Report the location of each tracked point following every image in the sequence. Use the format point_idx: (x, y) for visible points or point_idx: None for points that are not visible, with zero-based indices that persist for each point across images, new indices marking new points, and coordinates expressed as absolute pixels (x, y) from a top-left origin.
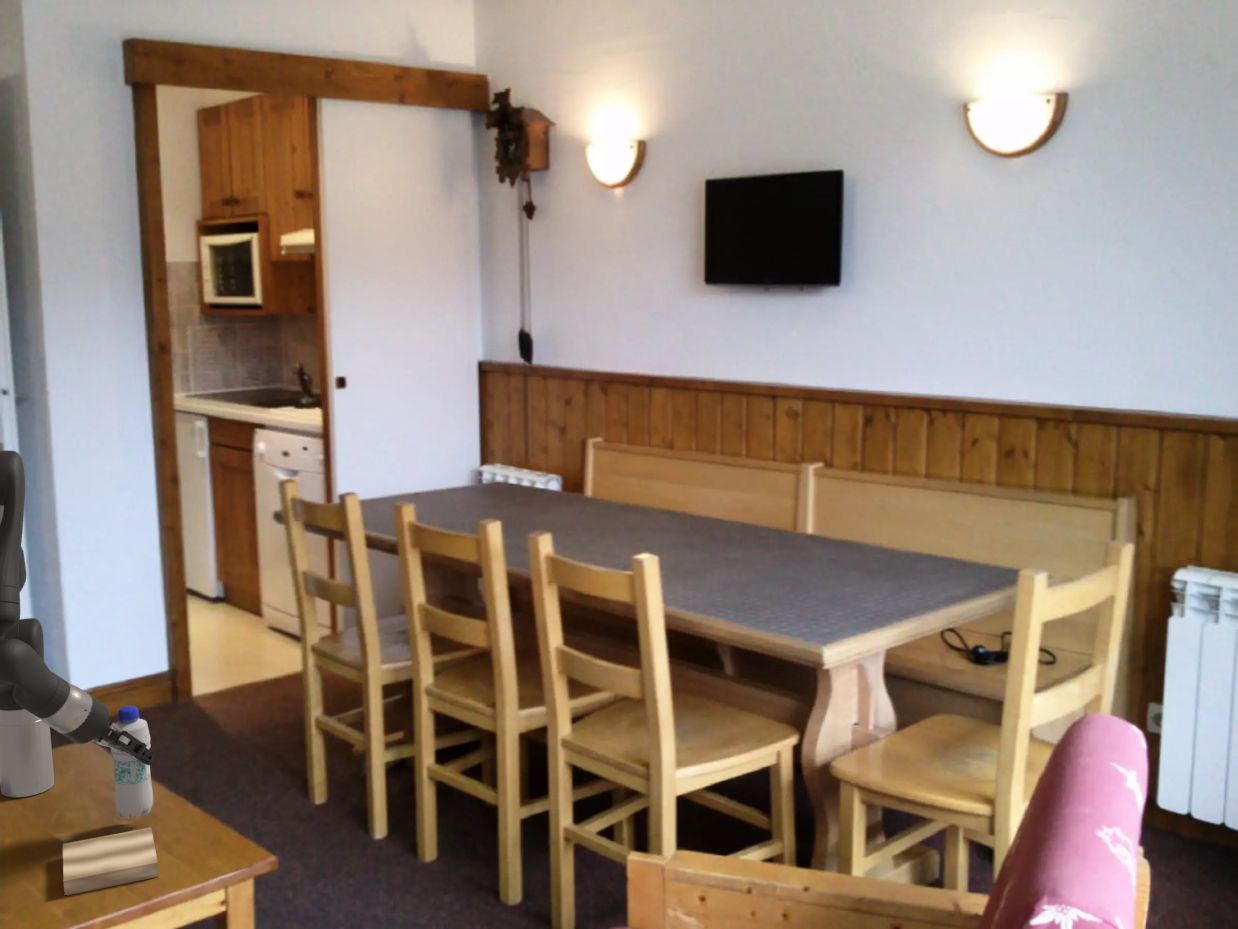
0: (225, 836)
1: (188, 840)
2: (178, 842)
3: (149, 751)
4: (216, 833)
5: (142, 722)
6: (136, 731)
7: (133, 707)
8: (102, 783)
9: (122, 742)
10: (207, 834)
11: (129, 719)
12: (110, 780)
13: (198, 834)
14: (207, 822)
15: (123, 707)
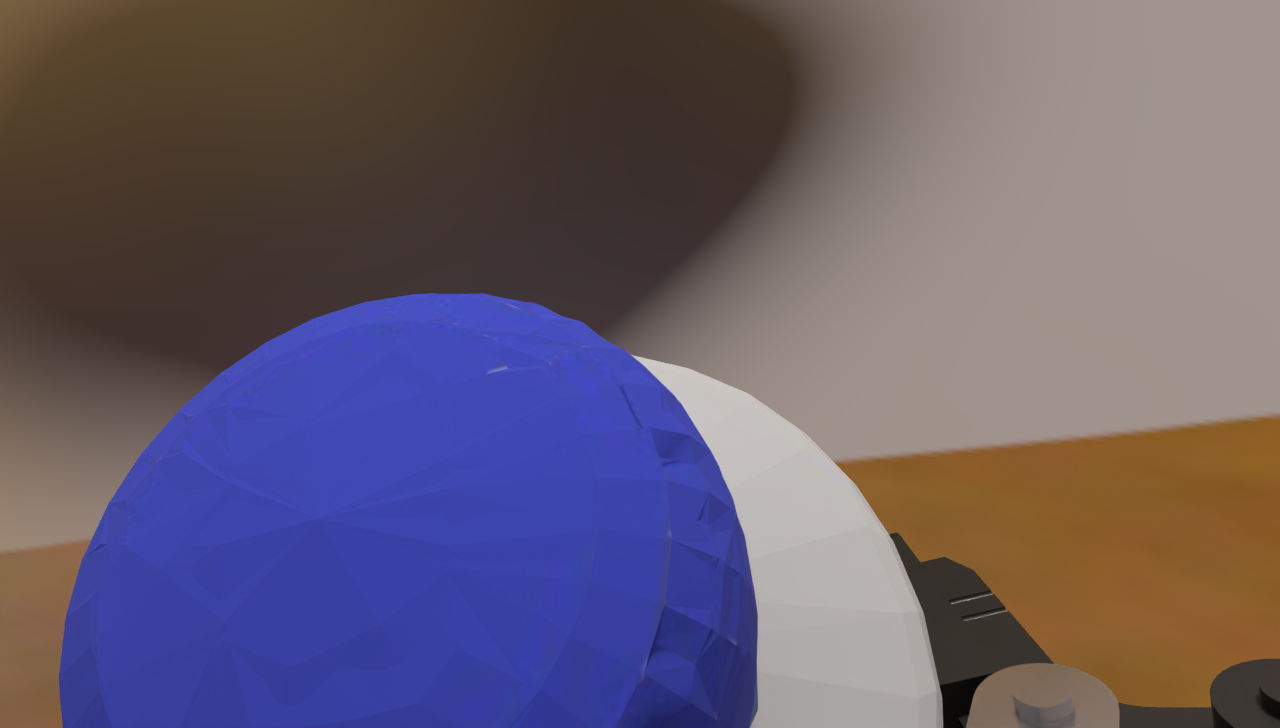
0: (1213, 452)
1: (1154, 638)
2: (1152, 700)
3: (932, 588)
4: (1139, 476)
5: (701, 427)
6: (934, 671)
7: (480, 372)
8: (15, 723)
9: None
10: (1125, 519)
11: (744, 713)
12: (26, 670)
13: (1094, 559)
14: (950, 463)
15: (152, 671)
